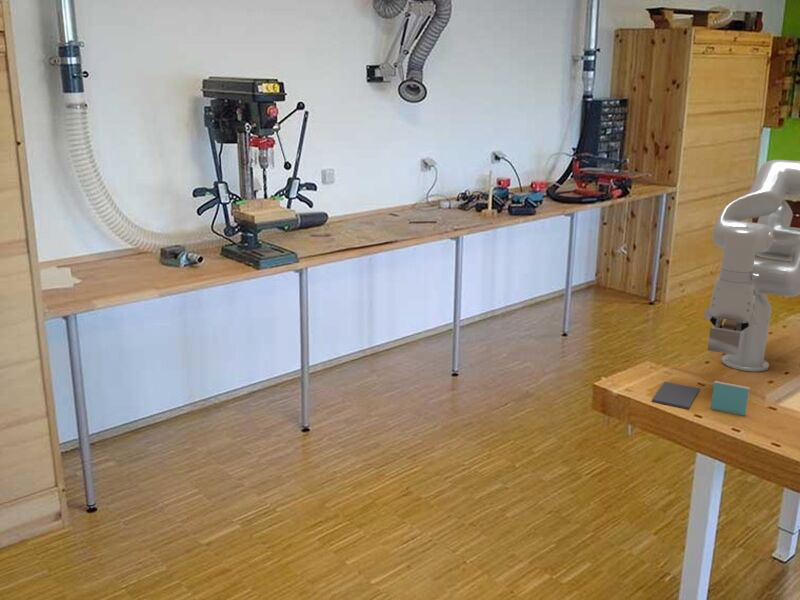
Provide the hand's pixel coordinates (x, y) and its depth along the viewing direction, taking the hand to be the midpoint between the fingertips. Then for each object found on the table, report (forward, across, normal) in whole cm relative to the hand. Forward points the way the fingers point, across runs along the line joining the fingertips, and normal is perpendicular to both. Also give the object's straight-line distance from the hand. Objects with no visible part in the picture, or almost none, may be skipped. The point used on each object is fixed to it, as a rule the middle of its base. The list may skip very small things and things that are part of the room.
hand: (726, 343), depth 204 cm
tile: (+13, -4, +14) cm, 19 cm away
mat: (+13, +9, +11) cm, 19 cm away
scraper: (0, 0, 0) cm, 0 cm away
